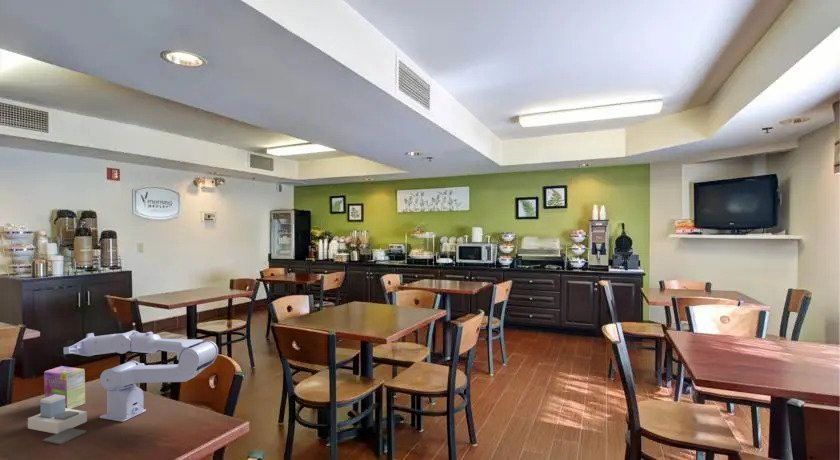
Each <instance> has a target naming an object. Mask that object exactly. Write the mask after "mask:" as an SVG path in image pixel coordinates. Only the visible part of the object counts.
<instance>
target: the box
mask: <svg viewBox="0 0 840 460" xmlns="http://www.w3.org/2000/svg"><path fill="white" fill-rule="evenodd" d="M85 375H86V374H85V368H80V367H79V368H78V367H71V366H66V365H65V366H63V365H60V366H58V367H54V368H52V369H48V370H45V371H44V372H43V378H44V379H43V380H44V381H43V382H44V385H43V386H44V398H46V397H49V396H52V395H54V394H58V395H64V396H65V408H68V409H75V408H78V407H80V406H82V405H85V404H86V378H85Z"/></svg>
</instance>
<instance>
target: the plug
mask: <svg viewBox="0 0 840 460" xmlns="http://www.w3.org/2000/svg"><path fill="white" fill-rule="evenodd" d="M64 412H65V396H64V395H58V394H54V395H52V396H49V397H46V398H45V397H44V398H41V399H40V413H41V417H42V418H48V419H51V418H53V417H54V416H57V415H59V414H62V413H64Z"/></svg>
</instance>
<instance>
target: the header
mask: <svg viewBox="0 0 840 460" xmlns="http://www.w3.org/2000/svg"><path fill="white" fill-rule="evenodd" d="M87 422H88V411H84V410H78V409H75V408H73V409H68V408H65V412H64V413H62V414H59V415H57V416H54V417H53V418H51V419H48V418H42V417H41V412H40V413H38V414H36V415H33V416H29V417H28V418H27V429H29V430H35V431H40V432H46V433H51V434H54V435H55V434H57V433H60V432H62V431H64V430H67V429H69V428H73V429H74V428H75V427H78V426H80V425H83V424H85V423H87Z"/></svg>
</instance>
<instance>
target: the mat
mask: <svg viewBox="0 0 840 460" xmlns="http://www.w3.org/2000/svg"><path fill="white" fill-rule="evenodd" d="M87 432H88V431H87V430H84V429H79V428H74V427H73V428H69V429H67V430H64V431H62V432H60V433H57V434H55V433H54V434H53V435H50V436H48V437H46V438H44V439H42V441H43V442H45V443H51V444H55V445H62V444H64V443H67V442H68V441H71V440H73V439H75V438H78V437H79V436H82V435H84V434H86V433H87Z"/></svg>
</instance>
